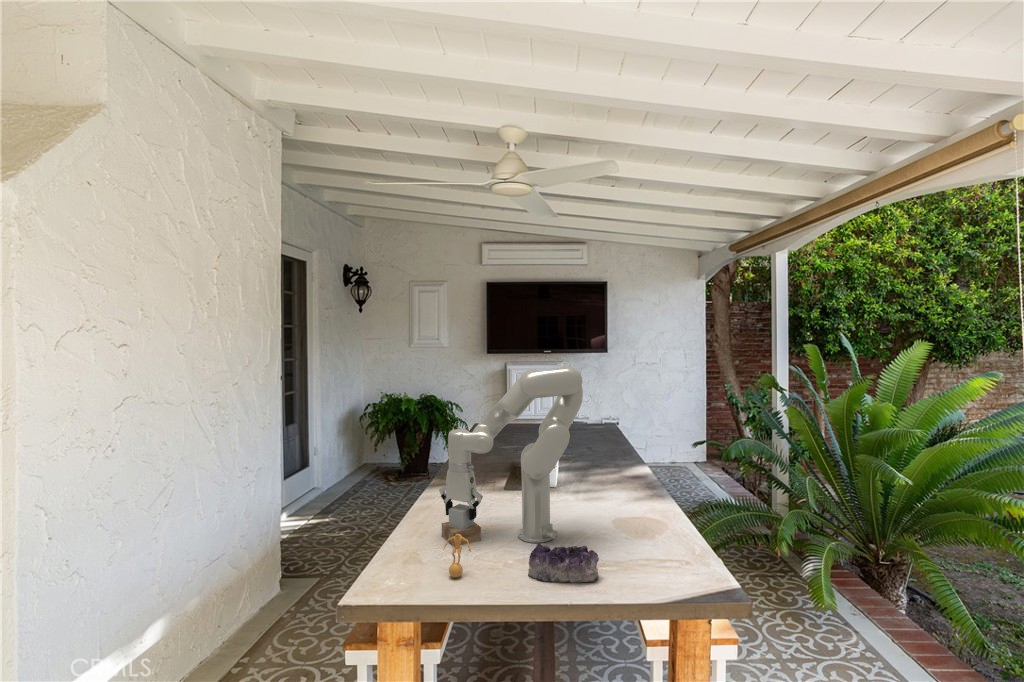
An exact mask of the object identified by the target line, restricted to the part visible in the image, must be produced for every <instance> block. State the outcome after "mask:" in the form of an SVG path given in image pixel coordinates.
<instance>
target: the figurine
mask: <svg viewBox="0 0 1024 682" xmlns="http://www.w3.org/2000/svg"><path fill="white" fill-rule="evenodd" d="M453 539H454V542H455V546H452V552H451V555H452V557H453V562H452V563H451V564H450V566H449V568H448V573H449V576H450V577H452V578H454V579H455V578H456V579H457V578H459V577H461V575H462V573H463V570H464V569H463V566H462V564H460V560H461V554H462V548H463V547H462V545H460V544H461V541H462V540H464V541H466V542H467V544H466V545H467V547H468V552H469V553H471V552H472V550H471V546H470V543H469V541H468V540H467V539H465V538H464V537H462V536H461V534H456V536H453V537H452V538H449V539H448V540H447V541H445V542H446V543H444V545H443V551H444V550H445V549H446V546H447V545H448V544H449V540H453ZM456 552H457V562H456V555H455V554H456Z"/></svg>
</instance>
